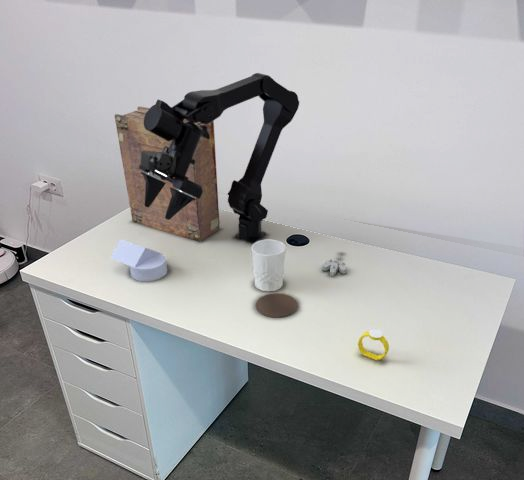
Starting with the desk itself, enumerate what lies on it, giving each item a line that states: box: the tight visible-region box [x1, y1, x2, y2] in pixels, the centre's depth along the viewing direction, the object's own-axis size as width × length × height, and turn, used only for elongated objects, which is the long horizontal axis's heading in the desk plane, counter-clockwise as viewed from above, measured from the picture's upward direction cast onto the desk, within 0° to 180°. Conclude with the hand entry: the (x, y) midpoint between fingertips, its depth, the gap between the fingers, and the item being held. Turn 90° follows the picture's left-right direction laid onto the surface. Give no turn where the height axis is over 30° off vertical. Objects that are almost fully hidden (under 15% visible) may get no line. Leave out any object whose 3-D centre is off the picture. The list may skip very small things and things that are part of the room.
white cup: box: [251, 238, 287, 292], centre depth 127 cm, size 8×8×10 cm
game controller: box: [322, 252, 347, 277], centre depth 136 cm, size 6×12×3 cm, turn 179°
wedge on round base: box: [109, 238, 168, 282], centre depth 134 cm, size 9×7×13 cm
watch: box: [357, 328, 390, 361], centre depth 106 cm, size 6×3×6 cm, turn 58°
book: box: [114, 106, 221, 242], centre depth 146 cm, size 25×9×30 cm, turn 58°
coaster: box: [255, 292, 299, 319], centre depth 122 cm, size 10×10×1 cm
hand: (156, 212), depth 126 cm, fingers open, 9 cm apart
